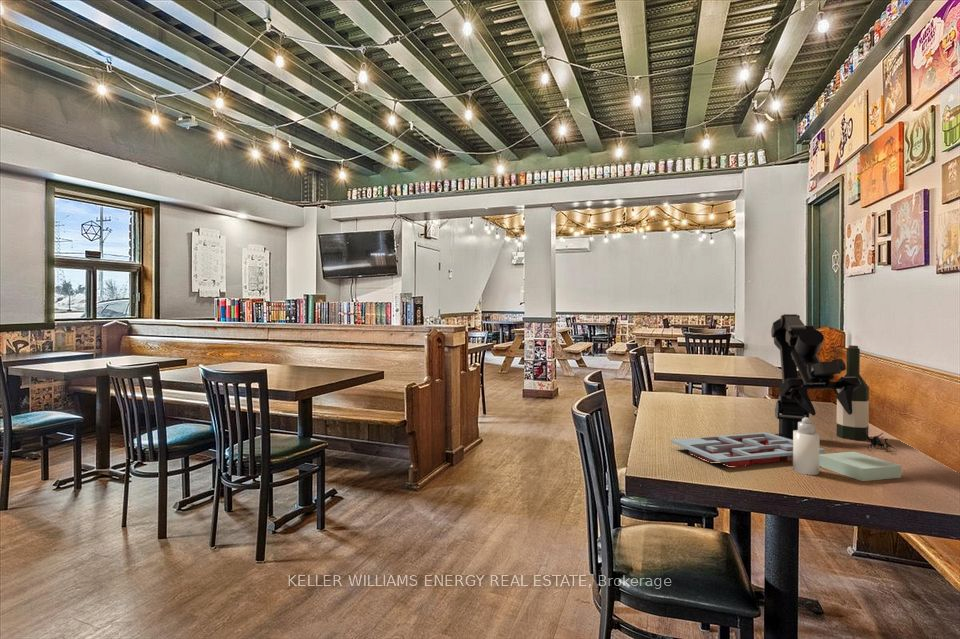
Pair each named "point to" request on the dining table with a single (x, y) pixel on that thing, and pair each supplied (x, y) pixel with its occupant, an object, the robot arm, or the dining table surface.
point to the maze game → (740, 448)
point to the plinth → (859, 466)
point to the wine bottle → (854, 403)
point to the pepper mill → (806, 448)
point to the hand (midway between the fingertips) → (832, 414)
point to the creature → (878, 442)
